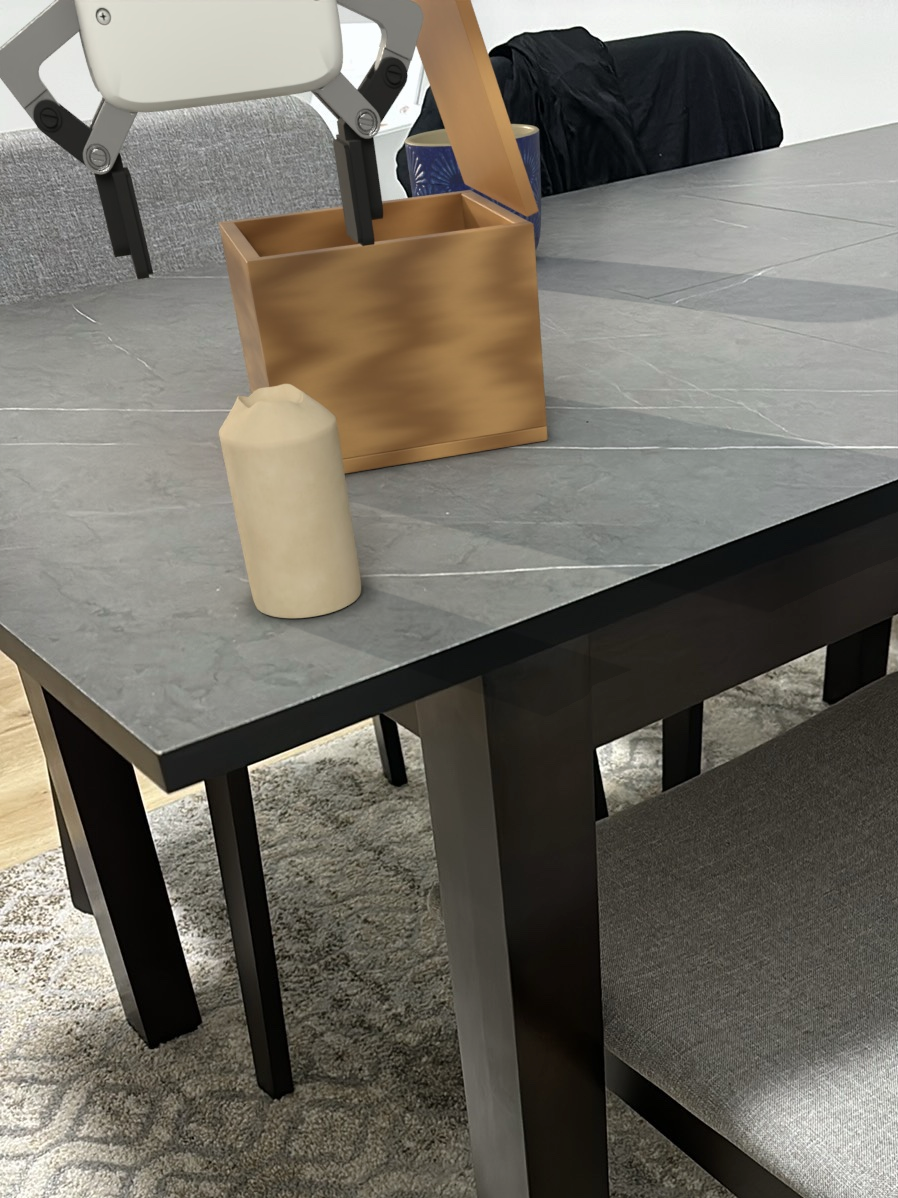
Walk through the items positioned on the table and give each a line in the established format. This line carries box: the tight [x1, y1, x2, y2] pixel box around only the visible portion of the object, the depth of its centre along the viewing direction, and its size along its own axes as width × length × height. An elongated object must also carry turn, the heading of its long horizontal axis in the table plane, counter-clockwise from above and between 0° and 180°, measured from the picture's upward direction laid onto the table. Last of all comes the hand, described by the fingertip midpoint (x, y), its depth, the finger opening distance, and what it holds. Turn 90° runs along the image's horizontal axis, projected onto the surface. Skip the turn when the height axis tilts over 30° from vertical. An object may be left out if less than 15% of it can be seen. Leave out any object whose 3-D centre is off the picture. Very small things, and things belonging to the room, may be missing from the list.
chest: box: [218, 190, 548, 475], centre depth 89 cm, size 17×15×12 cm
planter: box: [404, 123, 542, 252], centre depth 131 cm, size 12×12×11 cm
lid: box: [411, 0, 539, 217], centre depth 81 cm, size 18×15×5 cm
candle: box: [218, 384, 362, 619], centre depth 67 cm, size 6×6×10 cm
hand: (253, 256), depth 61 cm, fingers open, 9 cm apart
